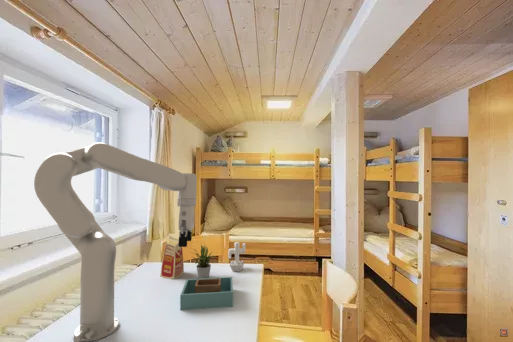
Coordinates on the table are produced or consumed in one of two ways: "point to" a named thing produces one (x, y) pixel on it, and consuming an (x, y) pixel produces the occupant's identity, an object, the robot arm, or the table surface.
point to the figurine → (236, 256)
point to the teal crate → (206, 296)
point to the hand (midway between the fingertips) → (185, 243)
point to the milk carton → (172, 259)
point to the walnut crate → (208, 285)
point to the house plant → (203, 263)
